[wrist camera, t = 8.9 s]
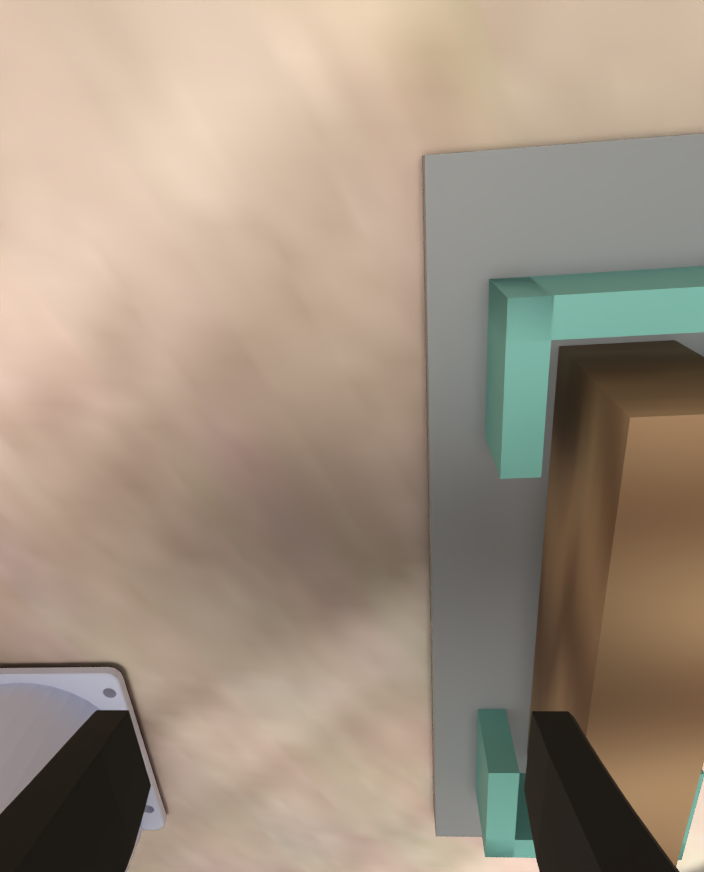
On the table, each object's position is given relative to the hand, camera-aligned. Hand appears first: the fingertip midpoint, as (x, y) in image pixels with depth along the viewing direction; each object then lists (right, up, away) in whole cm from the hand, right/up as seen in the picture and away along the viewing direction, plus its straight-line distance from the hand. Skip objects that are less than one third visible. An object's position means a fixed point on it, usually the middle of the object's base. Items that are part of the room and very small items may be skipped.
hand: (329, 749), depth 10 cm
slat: (+8, +1, +8) cm, 12 cm away
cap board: (+8, +1, +9) cm, 12 cm away
